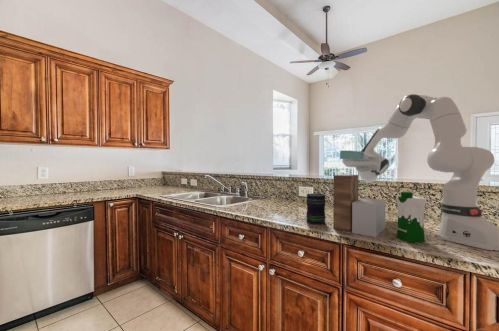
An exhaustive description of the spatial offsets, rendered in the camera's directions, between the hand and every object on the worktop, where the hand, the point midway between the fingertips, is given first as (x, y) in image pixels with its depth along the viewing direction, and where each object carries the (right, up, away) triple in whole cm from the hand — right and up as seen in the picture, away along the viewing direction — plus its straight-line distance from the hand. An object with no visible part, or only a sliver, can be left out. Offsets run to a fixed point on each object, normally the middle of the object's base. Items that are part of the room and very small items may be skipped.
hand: (358, 154), depth 134 cm
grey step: (-4, -37, -20) cm, 42 cm away
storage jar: (-25, -37, -4) cm, 45 cm away
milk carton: (+7, -37, -33) cm, 50 cm away
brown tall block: (-12, -37, -14) cm, 41 cm away
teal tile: (-6, -3, -7) cm, 10 cm away
